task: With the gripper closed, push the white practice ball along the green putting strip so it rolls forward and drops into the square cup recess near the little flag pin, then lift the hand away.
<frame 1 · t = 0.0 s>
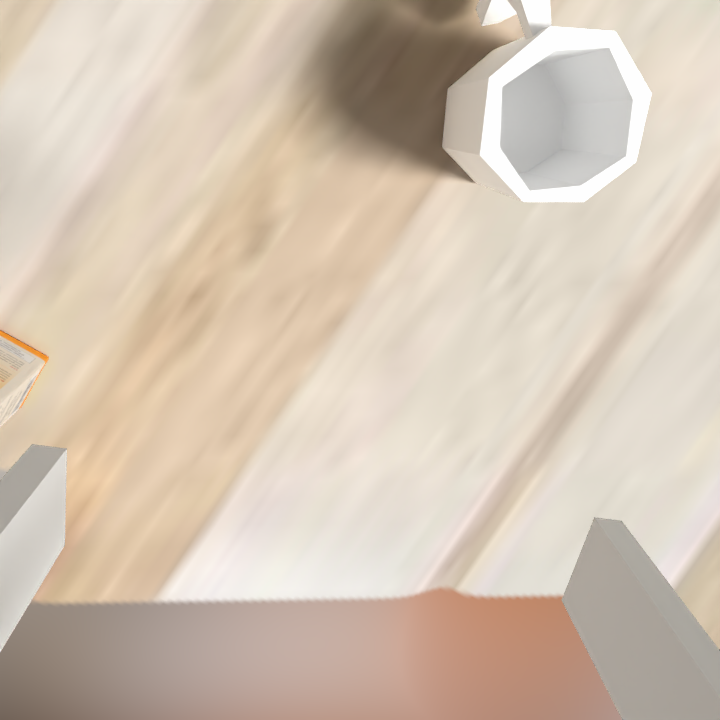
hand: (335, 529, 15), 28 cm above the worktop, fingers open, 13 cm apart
mug: (497, 90, 38), on the worktop
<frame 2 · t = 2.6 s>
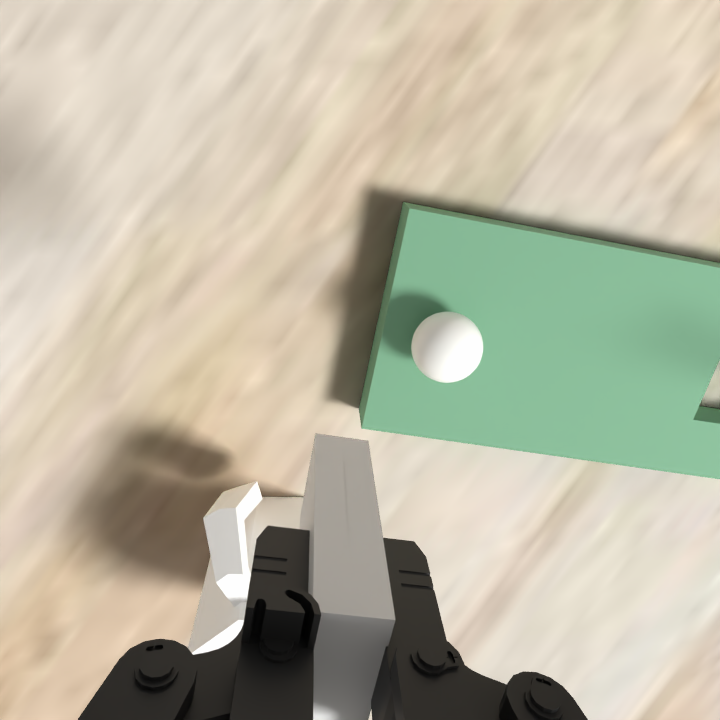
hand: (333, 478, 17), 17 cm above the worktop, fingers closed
mug: (269, 524, 38), on the worktop
putting strip: (599, 348, 35), on the worktop
ball: (446, 347, 30), point 4 cm above the worktop, touching putting strip
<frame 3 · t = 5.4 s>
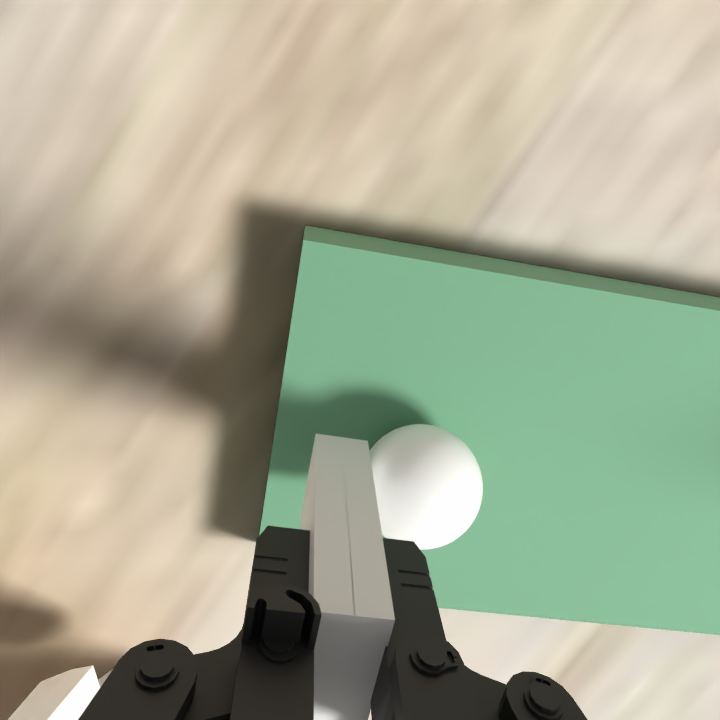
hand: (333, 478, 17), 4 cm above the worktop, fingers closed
mug: (138, 701, 26), on the worktop
putting strip: (632, 449, 22), on the worktop
ball: (420, 485, 17), point 4 cm above the worktop, tilted 42°, touching gripper, putting strip
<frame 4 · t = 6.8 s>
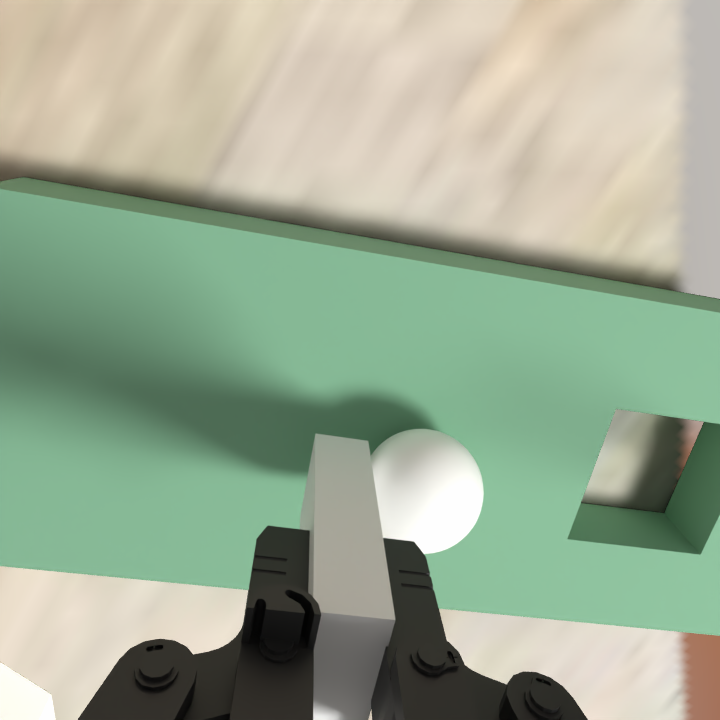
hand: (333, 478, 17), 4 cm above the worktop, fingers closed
putting strip: (415, 420, 21), on the worktop
ball: (421, 489, 17), point 4 cm above the worktop, tilted 47°, touching putting strip
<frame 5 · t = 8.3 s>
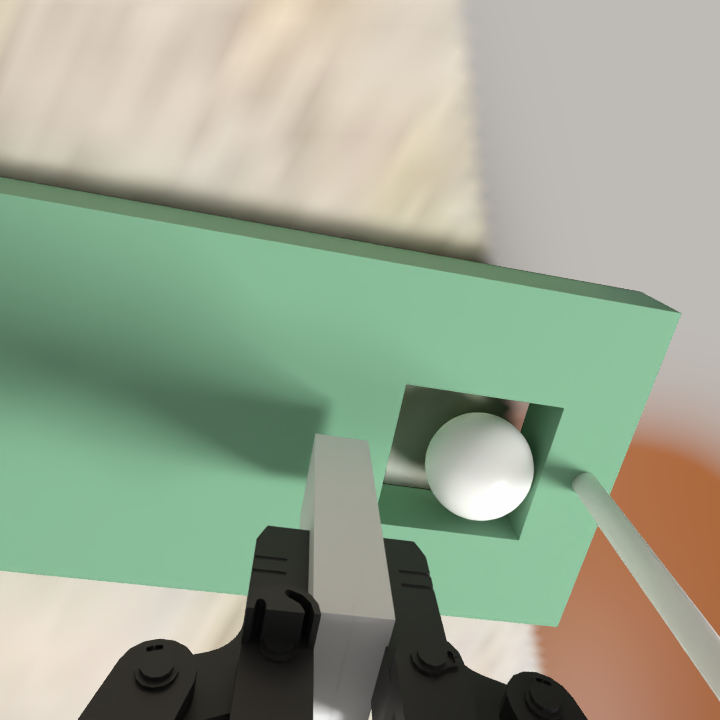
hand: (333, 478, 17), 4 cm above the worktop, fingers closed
putting strip: (221, 398, 20), on the worktop
ball: (478, 465, 20), point 2 cm above the worktop, tilted 83°
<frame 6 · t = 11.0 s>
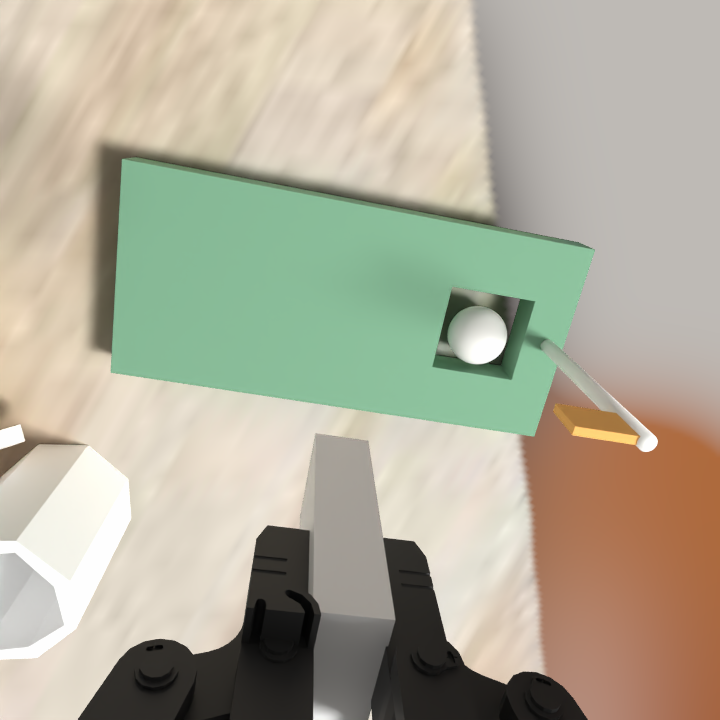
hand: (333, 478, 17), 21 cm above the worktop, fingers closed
mug: (55, 472, 40), on the worktop
putting strip: (347, 300, 37), on the worktop
ball: (477, 335, 36), point 2 cm above the worktop, tilted 109°
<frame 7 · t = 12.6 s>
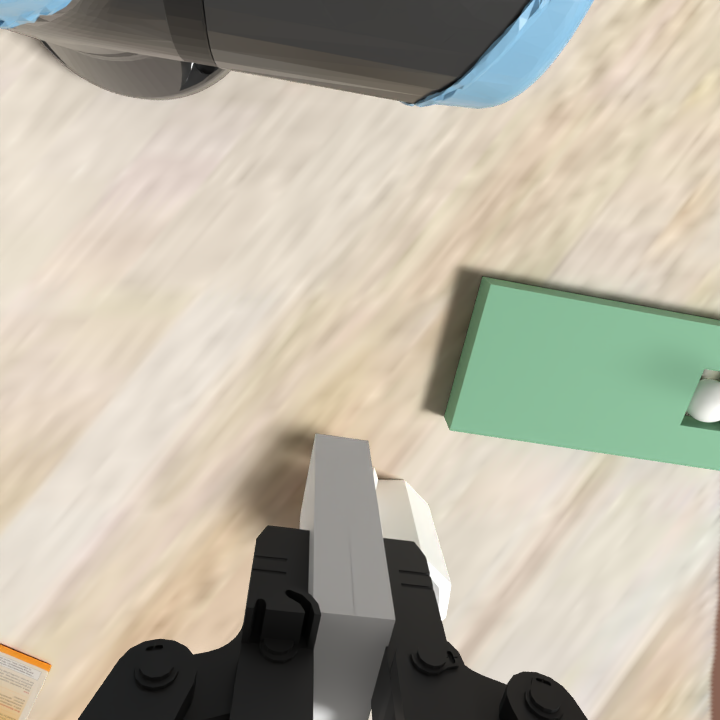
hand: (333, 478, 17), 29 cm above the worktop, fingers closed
mug: (374, 499, 53), on the worktop
putting strip: (614, 375, 49), on the worktop
ball: (707, 400, 49), point 2 cm above the worktop, tilted 124°
supplement box: (3, 661, 57), on the worktop
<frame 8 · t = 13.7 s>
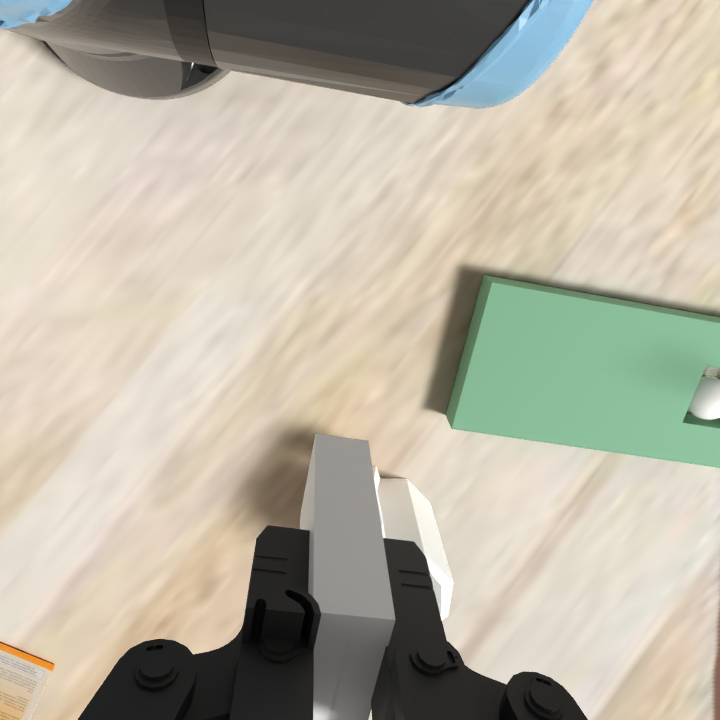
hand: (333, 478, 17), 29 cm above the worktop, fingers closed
mug: (376, 498, 53), on the worktop
putting strip: (615, 372, 49), on the worktop
ball: (707, 397, 49), point 2 cm above the worktop, tilted 129°
supplement box: (6, 661, 57), on the worktop
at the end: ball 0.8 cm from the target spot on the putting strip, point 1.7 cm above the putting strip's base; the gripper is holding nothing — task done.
